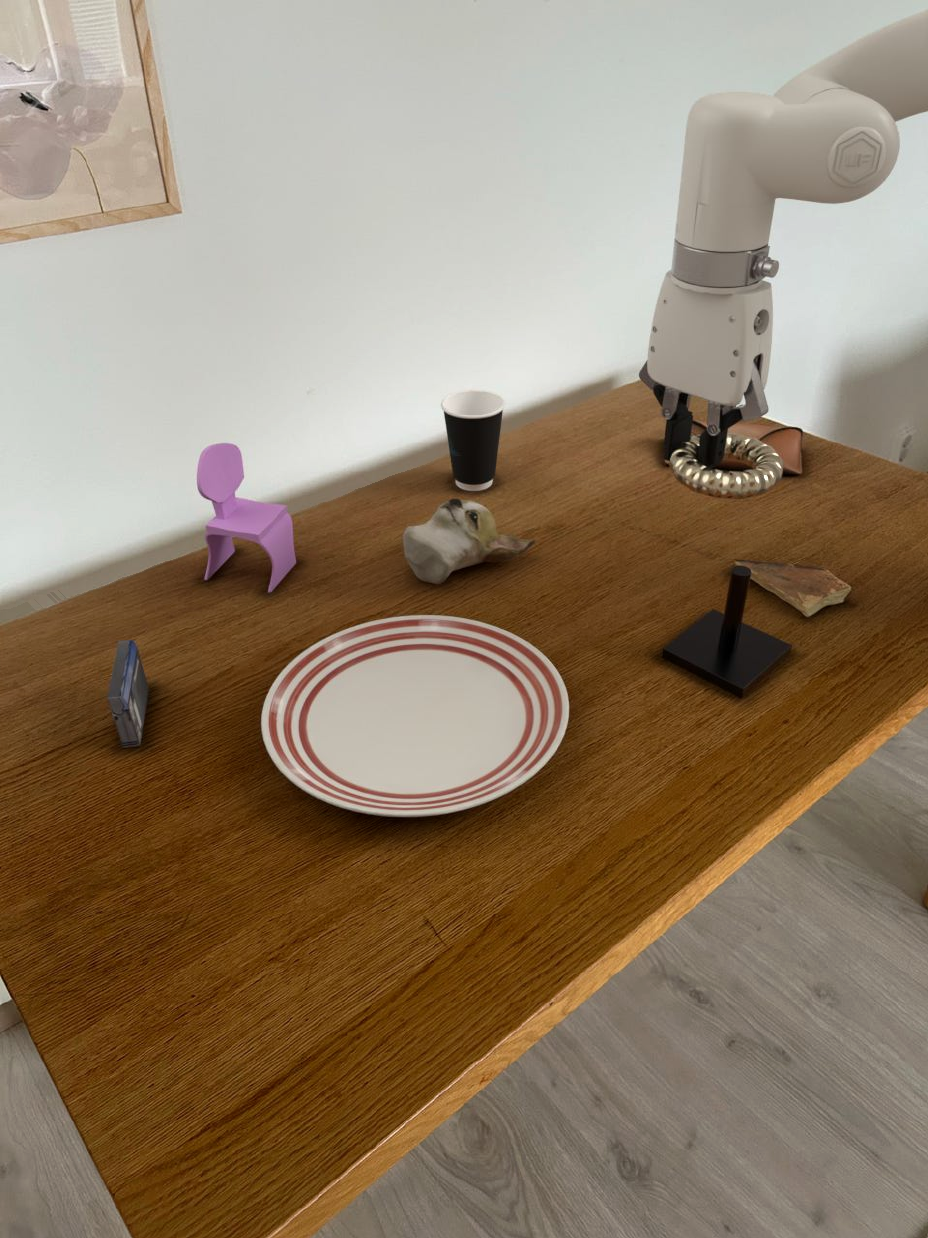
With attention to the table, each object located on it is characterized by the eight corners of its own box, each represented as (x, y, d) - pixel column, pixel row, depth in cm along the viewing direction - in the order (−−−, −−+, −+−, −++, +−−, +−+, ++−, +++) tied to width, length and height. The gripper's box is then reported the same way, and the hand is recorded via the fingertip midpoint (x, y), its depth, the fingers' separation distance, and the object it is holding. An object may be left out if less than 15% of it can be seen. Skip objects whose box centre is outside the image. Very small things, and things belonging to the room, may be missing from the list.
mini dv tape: (140, 746, 88) (125, 696, 84) (123, 748, 88) (107, 698, 84) (148, 688, 94) (135, 638, 91) (132, 689, 94) (118, 640, 91)
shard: (731, 570, 109) (733, 556, 108) (781, 550, 112) (784, 537, 111) (803, 619, 102) (806, 605, 101) (855, 597, 105) (859, 583, 104)
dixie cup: (430, 484, 126) (427, 405, 119) (469, 461, 131) (468, 383, 124) (479, 503, 122) (478, 422, 115) (517, 478, 127) (518, 399, 120)
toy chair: (270, 598, 106) (250, 475, 97) (199, 585, 108) (173, 463, 100) (304, 558, 112) (288, 439, 103) (236, 546, 115) (215, 429, 106)
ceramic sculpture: (375, 499, 105) (479, 462, 114) (376, 567, 110) (475, 527, 119) (438, 539, 99) (543, 497, 107) (436, 610, 104) (537, 564, 112)
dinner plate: (235, 678, 95) (229, 651, 93) (490, 609, 104) (490, 583, 102) (314, 888, 75) (309, 859, 73) (624, 781, 84) (627, 753, 82)
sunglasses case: (663, 464, 128) (669, 412, 128) (662, 467, 135) (667, 418, 134) (806, 475, 125) (813, 422, 125) (797, 478, 132) (803, 428, 132)
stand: (789, 654, 97) (810, 568, 91) (741, 698, 92) (759, 610, 86) (711, 617, 102) (725, 534, 96) (661, 657, 97) (673, 571, 91)
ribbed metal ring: (801, 474, 90) (806, 451, 89) (741, 516, 85) (745, 491, 83) (708, 441, 96) (712, 418, 95) (646, 478, 90) (649, 454, 89)
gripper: (831, 272, 79) (790, 476, 90) (664, 234, 88) (645, 423, 99) (782, 295, 74) (745, 506, 85) (612, 253, 84) (598, 448, 95)
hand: (692, 460), depth 92 cm, fingers closed on ribbed metal ring, 2 cm apart
